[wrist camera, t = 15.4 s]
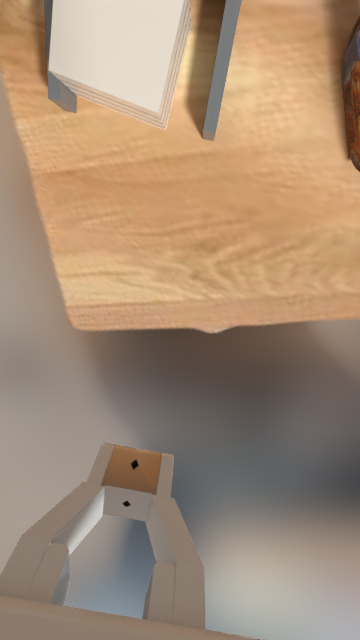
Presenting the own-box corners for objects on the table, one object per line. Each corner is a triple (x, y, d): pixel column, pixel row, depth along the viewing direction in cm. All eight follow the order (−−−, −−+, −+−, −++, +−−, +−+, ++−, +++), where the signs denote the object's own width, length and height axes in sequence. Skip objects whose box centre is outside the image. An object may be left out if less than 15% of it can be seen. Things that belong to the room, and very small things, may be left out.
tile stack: (191, 30, 28) (189, -21, 22) (166, 131, 33) (158, 114, 26) (90, -13, 28) (57, -79, 21) (77, 97, 32) (47, 70, 25)
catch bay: (244, -20, 26) (253, -63, 22) (213, 140, 33) (215, 131, 28) (61, -60, 26) (36, -111, 22) (65, 110, 32) (45, 96, 28)
